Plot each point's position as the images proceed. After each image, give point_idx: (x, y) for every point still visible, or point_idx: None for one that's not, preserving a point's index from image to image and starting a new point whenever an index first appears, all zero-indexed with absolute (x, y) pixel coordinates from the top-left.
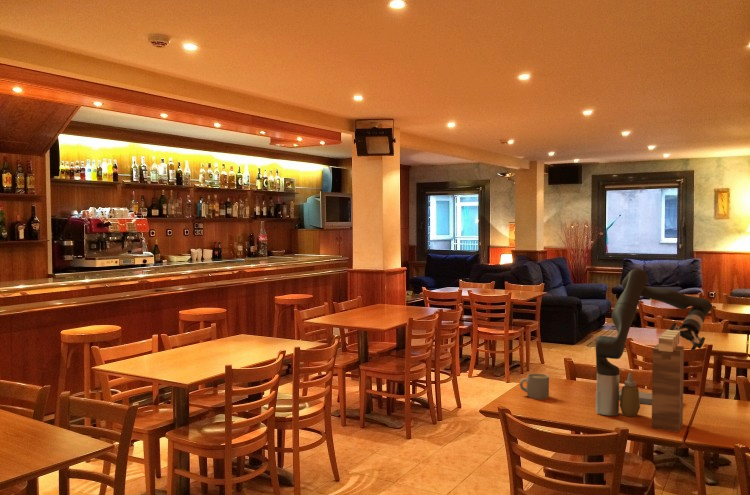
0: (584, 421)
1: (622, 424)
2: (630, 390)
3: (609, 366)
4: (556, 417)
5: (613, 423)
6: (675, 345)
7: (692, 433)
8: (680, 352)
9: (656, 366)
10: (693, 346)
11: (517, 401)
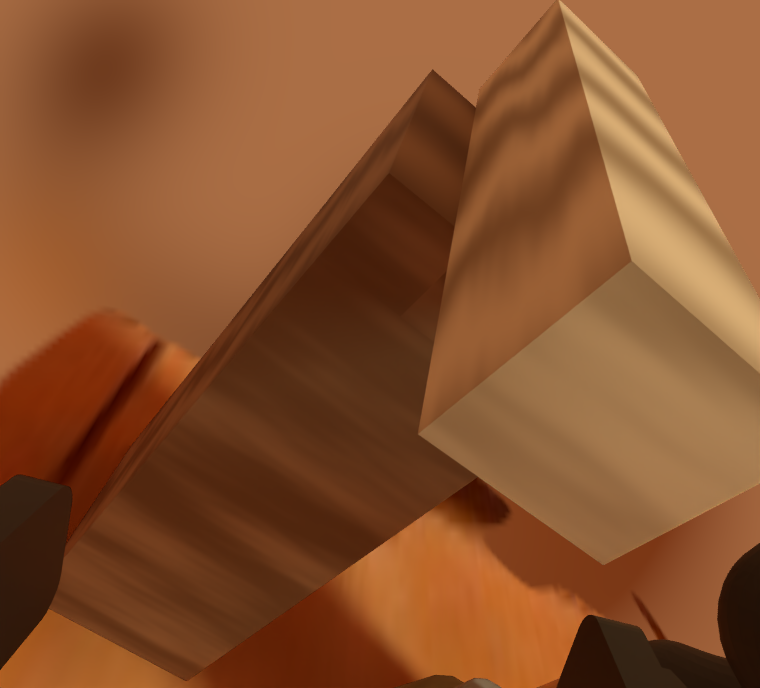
0: (506, 613)
1: (372, 575)
2: (448, 676)
3: (697, 667)
4: None
5: (407, 590)
6: (486, 138)
7: (61, 420)
8: (423, 81)
9: None
10: (43, 485)
11: None
